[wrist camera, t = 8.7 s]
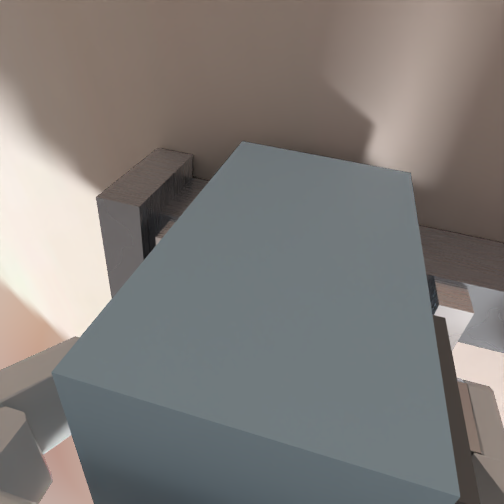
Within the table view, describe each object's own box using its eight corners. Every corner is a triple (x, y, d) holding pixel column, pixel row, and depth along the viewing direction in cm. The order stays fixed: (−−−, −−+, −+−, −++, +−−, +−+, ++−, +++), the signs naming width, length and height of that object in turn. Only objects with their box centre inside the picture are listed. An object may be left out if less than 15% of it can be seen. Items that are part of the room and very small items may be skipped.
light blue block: (434, 177, 10) (526, 517, 4) (368, 345, 14) (358, 656, 8) (242, 141, 11) (50, 372, 5) (228, 308, 15) (113, 563, 8)
